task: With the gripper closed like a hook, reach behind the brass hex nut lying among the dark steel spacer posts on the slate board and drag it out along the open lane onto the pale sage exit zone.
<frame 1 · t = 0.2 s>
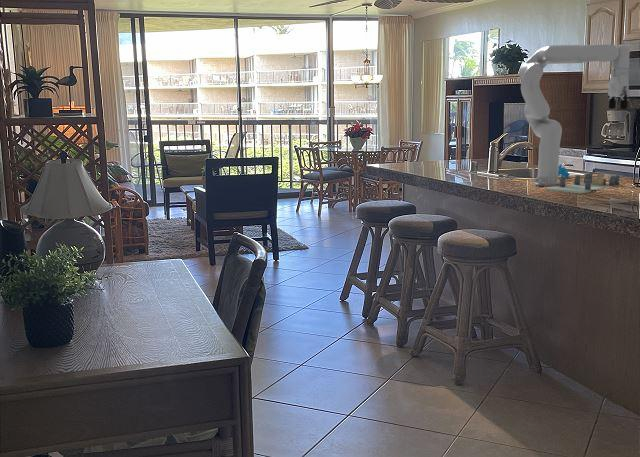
hand: (617, 108, 329), 36 cm above the kitchen counter, tool pointing down, fingers open, 9 cm apart
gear: (561, 178, 362), on the kitchen counter
nut: (598, 184, 325), point 1 cm above the kitchen counter, touching spacer board
spacer board: (583, 188, 320), on the kitchen counter
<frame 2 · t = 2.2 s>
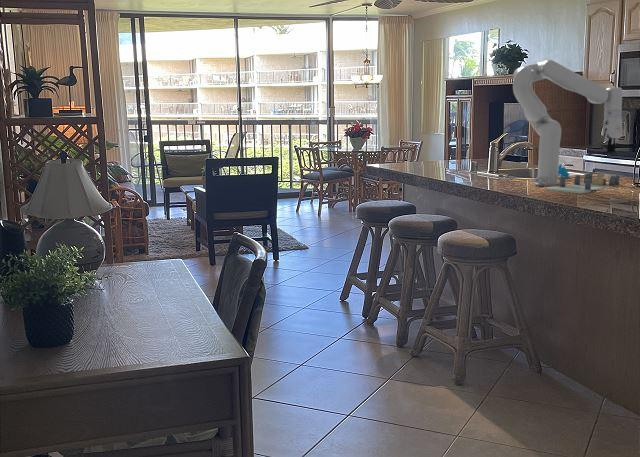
hand: (611, 152, 327), 16 cm above the kitchen counter, tool pointing down, fingers closed
nothing on the kitchen counter moved.
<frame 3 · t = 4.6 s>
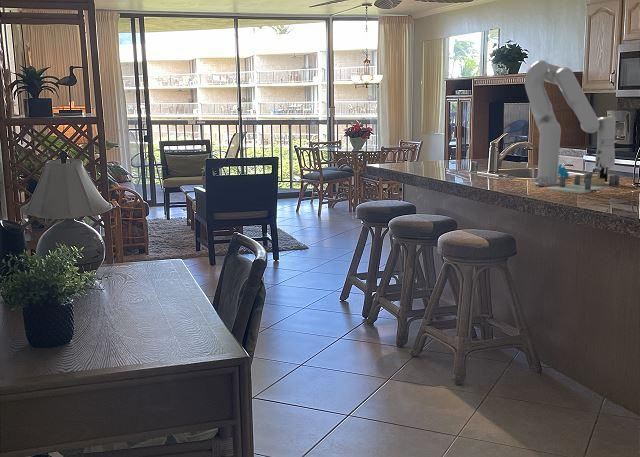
hand: (603, 181, 327), 2 cm above the kitchen counter, tool pointing down, fingers closed
nut: (597, 184, 325), point 1 cm above the kitchen counter, touching gripper, spacer board
everything else where it was.
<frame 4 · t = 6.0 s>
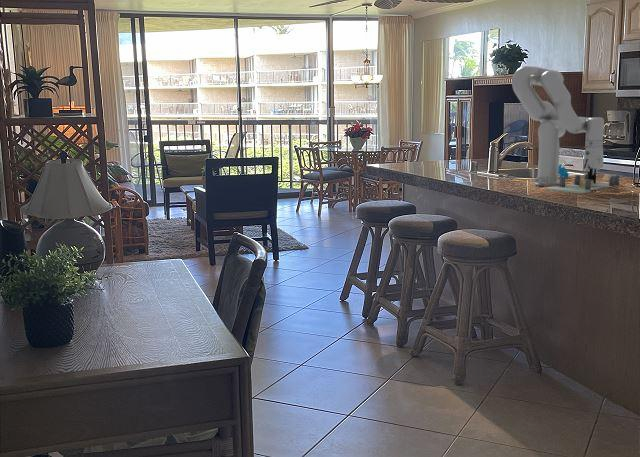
hand: (591, 183, 321), 2 cm above the kitchen counter, tool pointing down, fingers closed
nut: (586, 186, 318), point 1 cm above the kitchen counter, touching gripper
everything else where it was.
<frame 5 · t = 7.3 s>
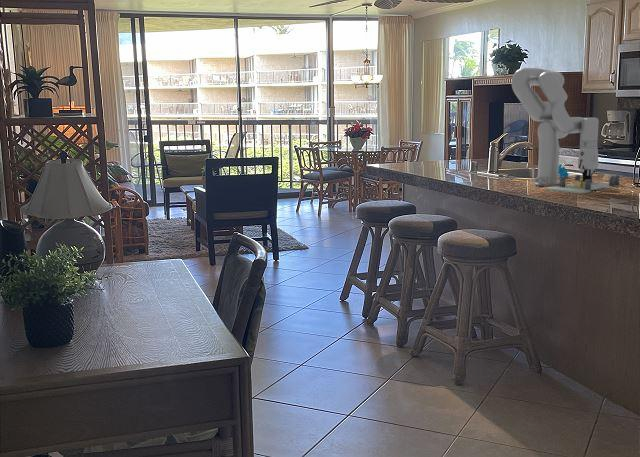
hand: (586, 184, 319), 2 cm above the kitchen counter, tool pointing down, fingers closed
nut: (581, 187, 316), point 1 cm above the kitchen counter, touching gripper, spacer board
everything else where it was.
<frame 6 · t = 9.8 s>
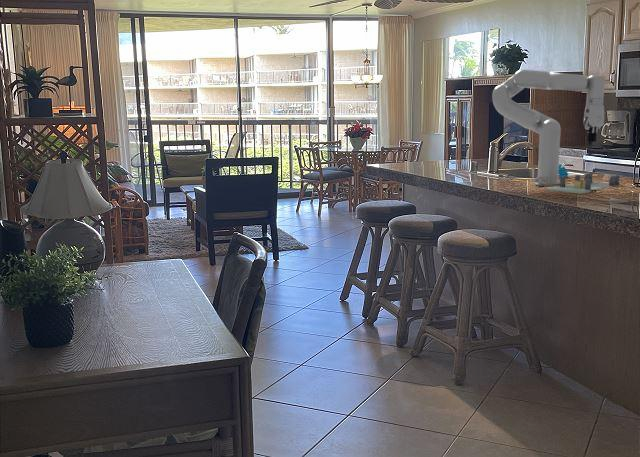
hand: (591, 141, 324), 21 cm above the kitchen counter, tool pointing down, fingers closed
nut: (581, 187, 316), point 1 cm above the kitchen counter, touching spacer board
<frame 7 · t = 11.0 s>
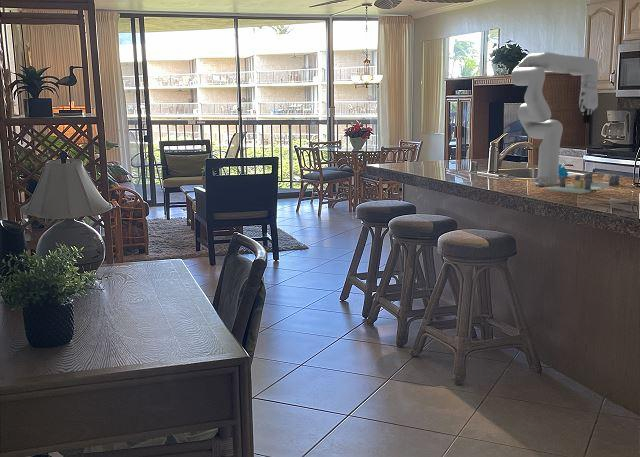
hand: (586, 122, 344), 29 cm above the kitchen counter, tool pointing down, fingers closed
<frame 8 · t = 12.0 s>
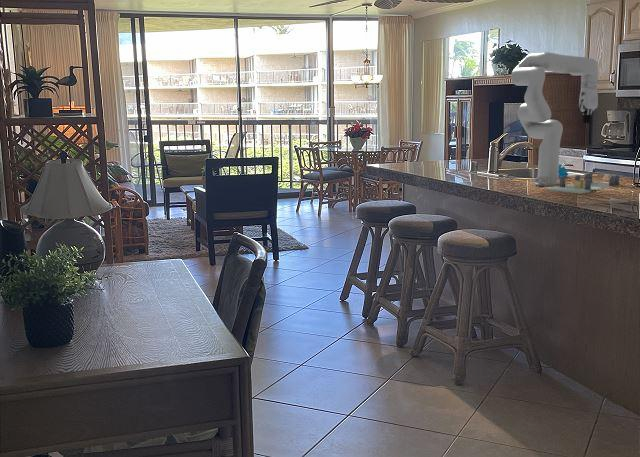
hand: (586, 122, 344), 29 cm above the kitchen counter, tool pointing down, fingers closed
at the end: nut inside the target area on the spacer board (2.7 cm from its centre), point 1.0 cm above the spacer board's base; nut tilted 0°; nut moved 15.8 cm from its start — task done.
